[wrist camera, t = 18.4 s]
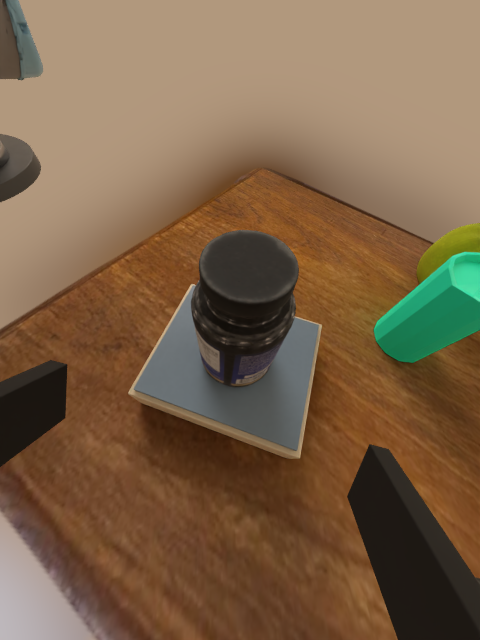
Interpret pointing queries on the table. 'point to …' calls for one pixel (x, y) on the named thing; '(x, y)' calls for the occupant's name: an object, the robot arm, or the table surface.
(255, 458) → the table surface
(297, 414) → the blue topped tan slab
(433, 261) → the fruit
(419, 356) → the candle
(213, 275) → the pill bottle
